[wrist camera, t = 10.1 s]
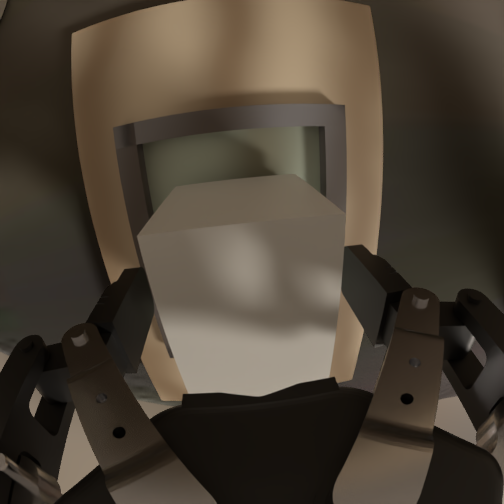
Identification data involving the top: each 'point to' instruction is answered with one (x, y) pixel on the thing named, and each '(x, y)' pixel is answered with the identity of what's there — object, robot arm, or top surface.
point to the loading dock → (228, 124)
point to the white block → (247, 282)
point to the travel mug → (2, 6)
